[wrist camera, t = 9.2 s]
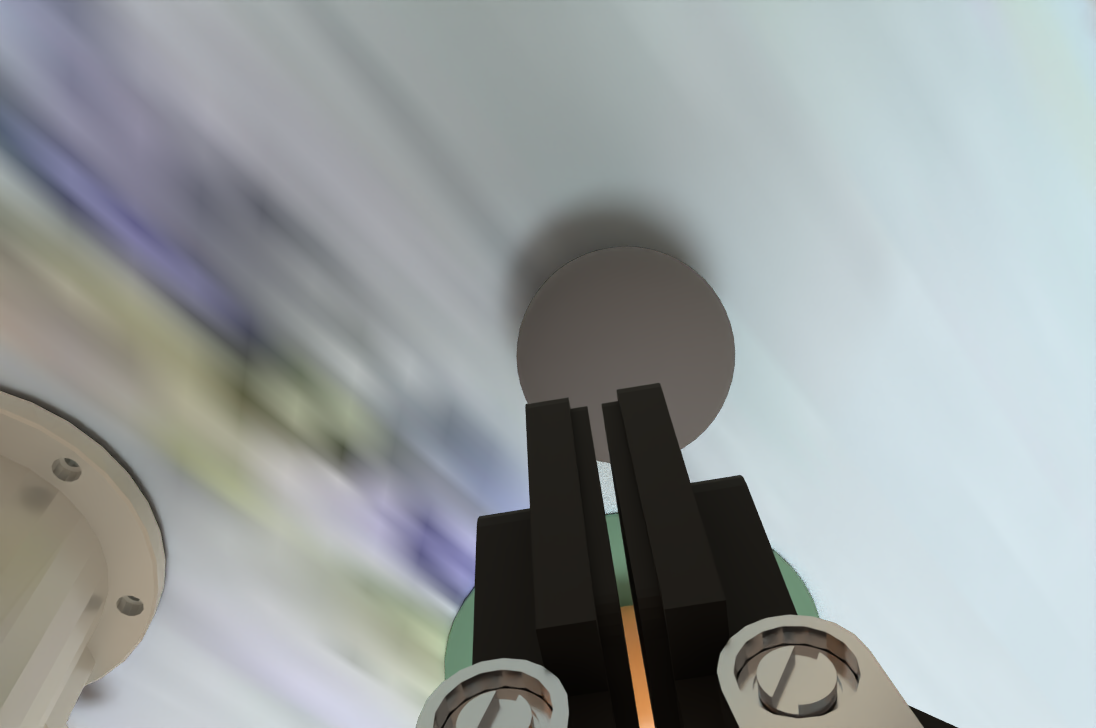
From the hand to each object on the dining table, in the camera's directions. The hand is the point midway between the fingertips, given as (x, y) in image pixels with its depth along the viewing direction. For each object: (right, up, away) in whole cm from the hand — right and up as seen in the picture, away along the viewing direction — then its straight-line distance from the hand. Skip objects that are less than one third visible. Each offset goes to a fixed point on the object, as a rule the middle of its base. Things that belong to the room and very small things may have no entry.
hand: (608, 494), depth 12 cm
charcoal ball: (+1, +2, +15) cm, 15 cm away
